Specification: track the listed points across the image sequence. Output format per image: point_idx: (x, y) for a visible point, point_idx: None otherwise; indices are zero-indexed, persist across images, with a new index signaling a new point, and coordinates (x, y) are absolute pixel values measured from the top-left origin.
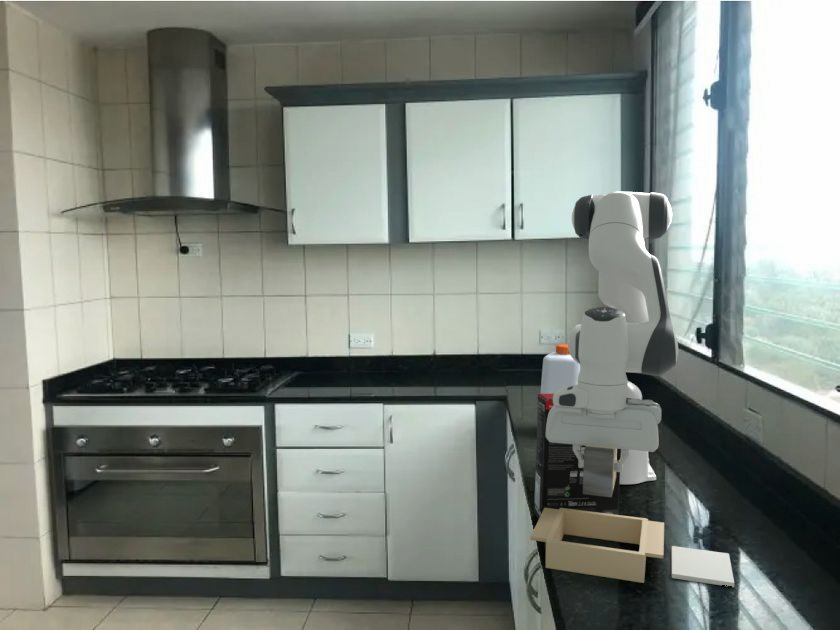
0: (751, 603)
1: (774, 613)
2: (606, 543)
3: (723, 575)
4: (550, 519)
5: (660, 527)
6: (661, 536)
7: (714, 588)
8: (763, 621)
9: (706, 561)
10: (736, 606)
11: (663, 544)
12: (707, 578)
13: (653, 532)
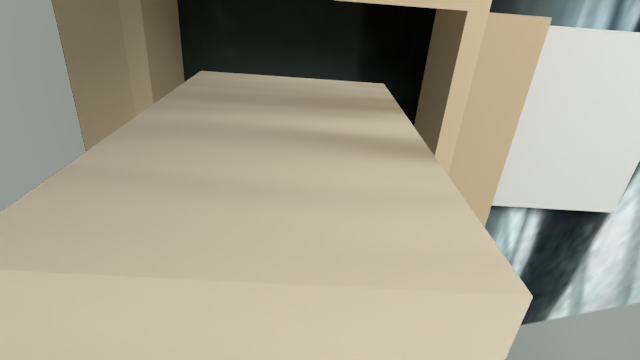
0: (607, 259)
1: (632, 281)
2: (323, 28)
3: (605, 183)
4: (118, 108)
5: (520, 73)
6: (500, 154)
7: (557, 220)
8: (594, 308)
9: (598, 114)
10: (570, 275)
11: (489, 208)
12: (557, 208)
13: (481, 127)
